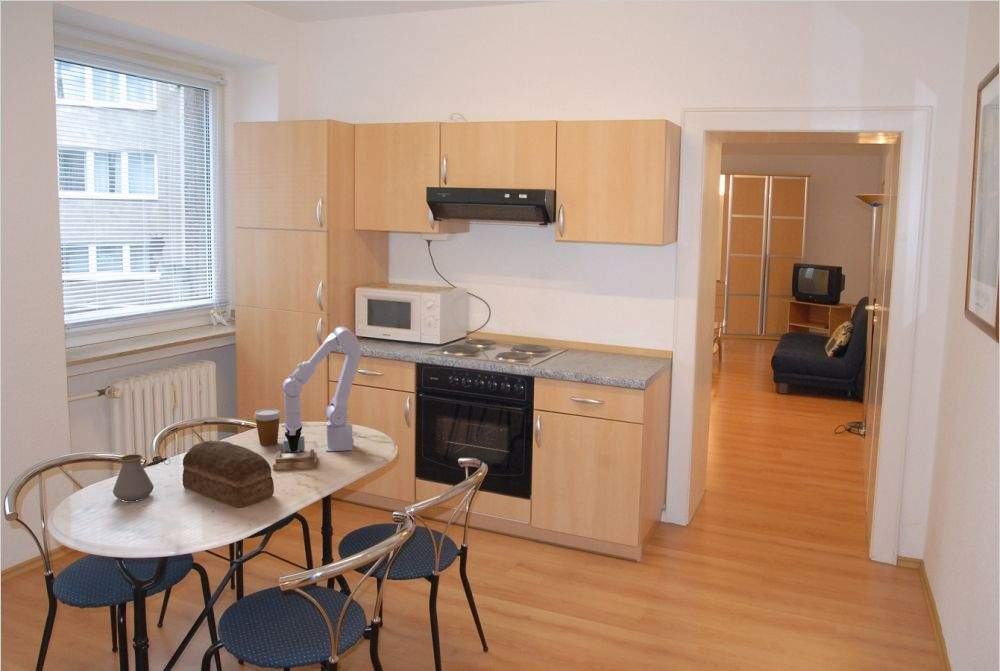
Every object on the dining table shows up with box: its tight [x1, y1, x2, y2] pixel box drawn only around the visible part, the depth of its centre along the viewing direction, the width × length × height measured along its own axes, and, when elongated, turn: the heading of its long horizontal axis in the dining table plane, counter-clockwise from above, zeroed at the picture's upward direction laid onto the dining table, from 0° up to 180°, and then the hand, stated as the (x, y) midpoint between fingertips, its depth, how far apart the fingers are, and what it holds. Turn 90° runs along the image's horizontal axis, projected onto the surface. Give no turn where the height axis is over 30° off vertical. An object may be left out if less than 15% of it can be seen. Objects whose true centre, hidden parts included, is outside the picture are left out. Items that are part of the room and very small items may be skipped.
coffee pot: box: [112, 453, 171, 502], centre depth 259 cm, size 21×12×15 cm, turn 64°
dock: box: [272, 448, 318, 471], centre depth 293 cm, size 14×11×4 cm
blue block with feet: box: [283, 436, 306, 454], centre depth 305 cm, size 7×5×5 cm, turn 100°
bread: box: [182, 440, 275, 508], centre depth 266 cm, size 15×32×16 cm, turn 53°
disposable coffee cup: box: [253, 408, 282, 447], centre depth 315 cm, size 10×10×12 cm
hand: (294, 449), depth 305 cm, fingers closed on blue block with feet, 5 cm apart
